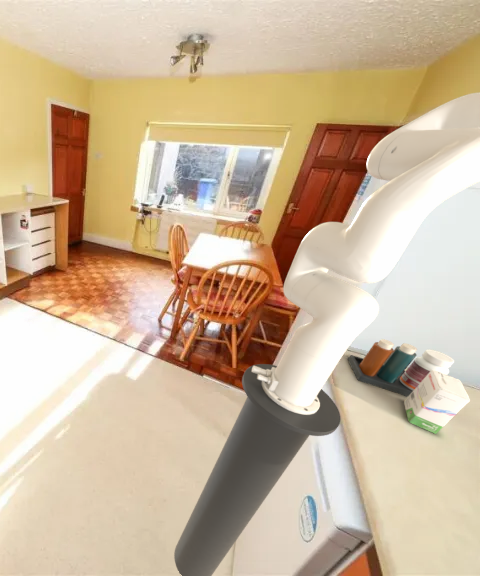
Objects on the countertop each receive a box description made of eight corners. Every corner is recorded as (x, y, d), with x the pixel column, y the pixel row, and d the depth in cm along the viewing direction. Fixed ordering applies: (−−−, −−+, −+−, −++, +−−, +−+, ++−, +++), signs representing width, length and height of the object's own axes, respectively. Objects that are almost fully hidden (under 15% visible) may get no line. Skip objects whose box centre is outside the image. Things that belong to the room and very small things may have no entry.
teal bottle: (379, 379, 77) (403, 347, 72) (374, 370, 81) (397, 340, 75) (397, 384, 76) (423, 353, 71) (391, 375, 79) (416, 345, 74)
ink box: (436, 435, 63) (473, 400, 57) (407, 422, 66) (439, 387, 60) (429, 412, 69) (461, 379, 63) (402, 401, 71) (431, 368, 66)
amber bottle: (359, 373, 79) (380, 343, 74) (355, 364, 82) (375, 335, 77) (377, 378, 78) (399, 348, 73) (372, 369, 81) (393, 340, 76)
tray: (357, 380, 77) (361, 375, 76) (347, 358, 86) (350, 354, 85) (447, 409, 70) (452, 404, 69) (426, 382, 78) (430, 378, 78)
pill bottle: (423, 397, 72) (452, 366, 67) (394, 381, 77) (418, 350, 72) (433, 391, 75) (462, 360, 69) (404, 375, 80) (429, 346, 74)
